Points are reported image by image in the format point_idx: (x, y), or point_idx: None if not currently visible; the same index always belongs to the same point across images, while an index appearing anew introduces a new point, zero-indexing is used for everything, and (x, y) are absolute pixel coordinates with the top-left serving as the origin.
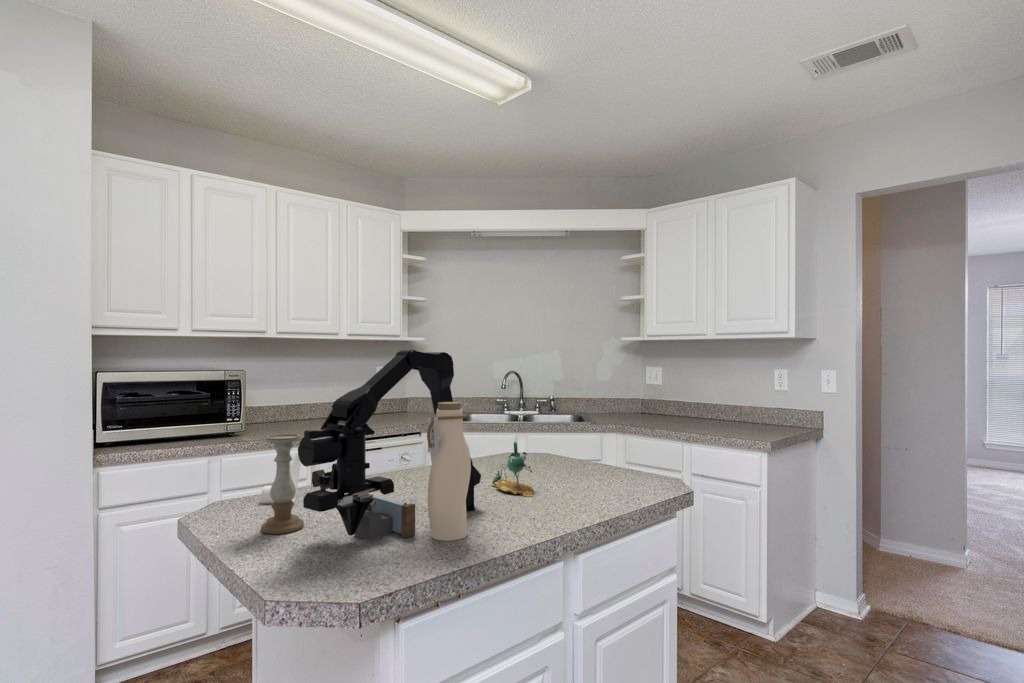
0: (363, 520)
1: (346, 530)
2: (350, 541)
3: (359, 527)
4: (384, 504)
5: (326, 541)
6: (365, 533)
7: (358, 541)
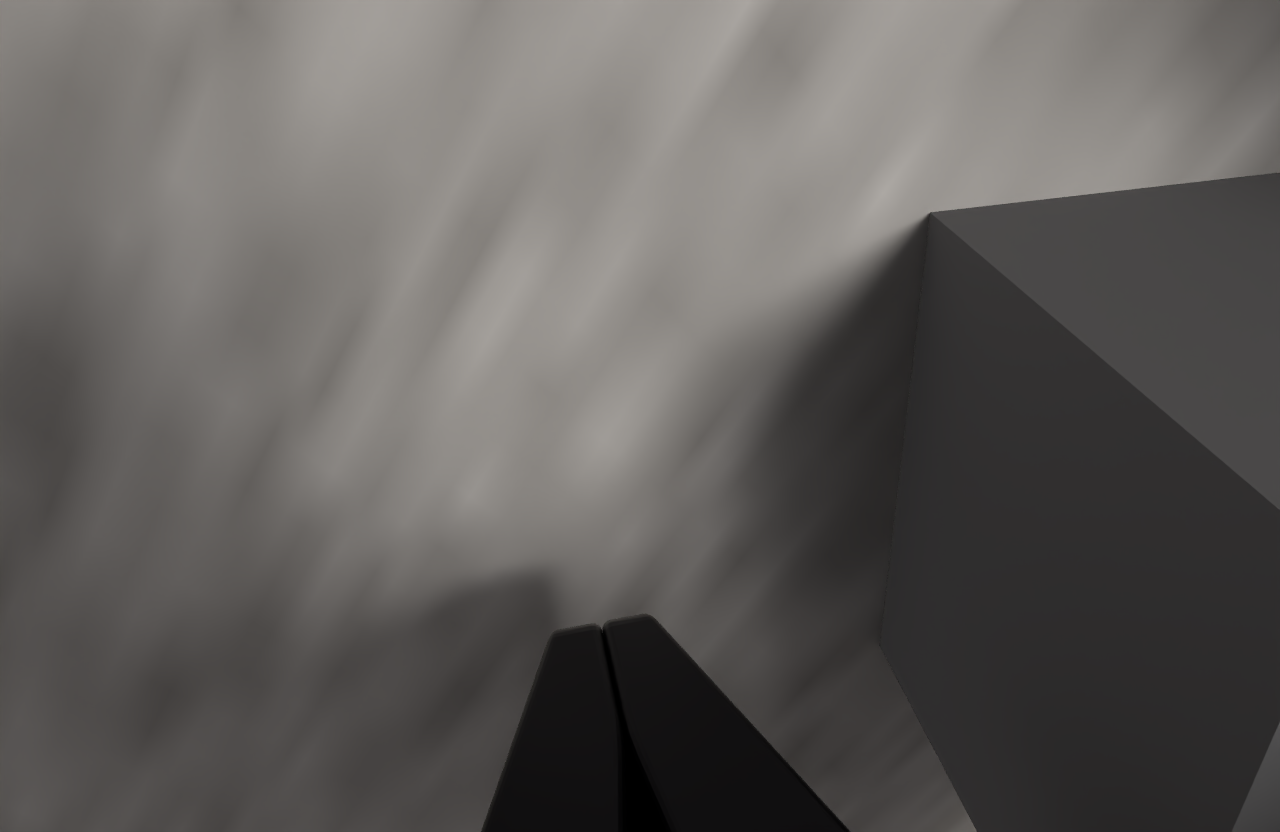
0: (1099, 800)
1: (525, 706)
2: (584, 530)
3: (1009, 496)
4: None
5: (108, 157)
6: (931, 617)
7: (692, 614)
